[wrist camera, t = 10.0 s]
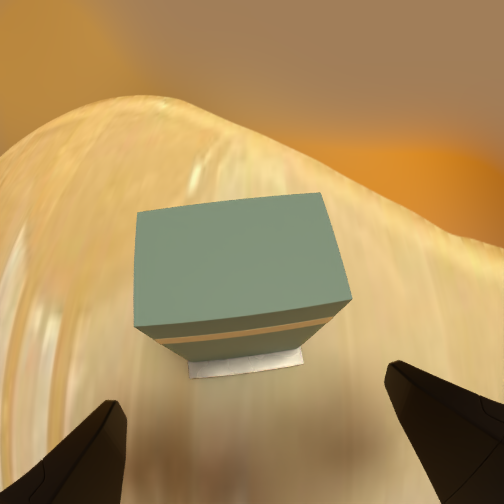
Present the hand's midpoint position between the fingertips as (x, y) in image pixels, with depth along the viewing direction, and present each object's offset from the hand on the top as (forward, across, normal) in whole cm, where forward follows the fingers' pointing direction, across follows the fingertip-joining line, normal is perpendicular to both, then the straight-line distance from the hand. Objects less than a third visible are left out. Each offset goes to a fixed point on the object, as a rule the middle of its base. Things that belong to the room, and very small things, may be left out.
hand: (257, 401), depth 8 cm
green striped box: (+9, 0, +3) cm, 10 cm away
